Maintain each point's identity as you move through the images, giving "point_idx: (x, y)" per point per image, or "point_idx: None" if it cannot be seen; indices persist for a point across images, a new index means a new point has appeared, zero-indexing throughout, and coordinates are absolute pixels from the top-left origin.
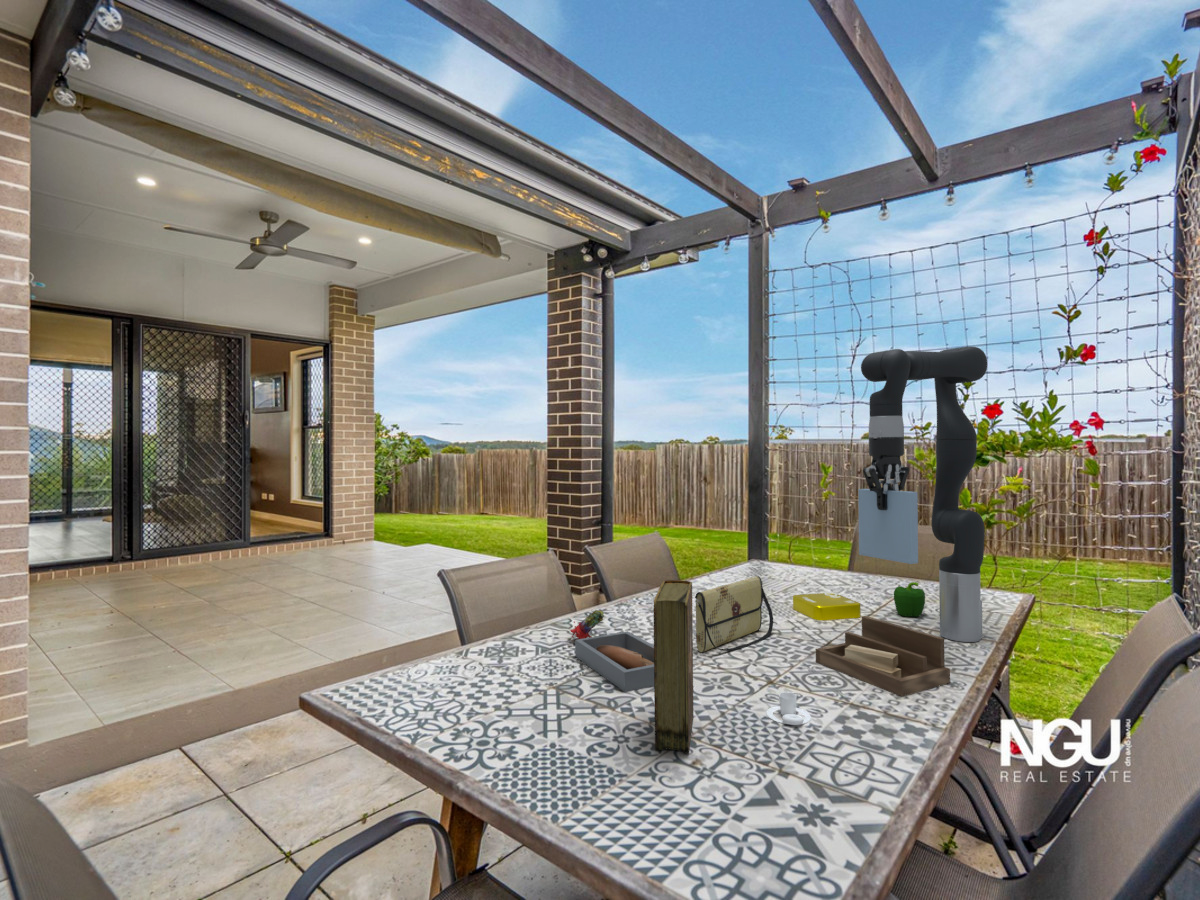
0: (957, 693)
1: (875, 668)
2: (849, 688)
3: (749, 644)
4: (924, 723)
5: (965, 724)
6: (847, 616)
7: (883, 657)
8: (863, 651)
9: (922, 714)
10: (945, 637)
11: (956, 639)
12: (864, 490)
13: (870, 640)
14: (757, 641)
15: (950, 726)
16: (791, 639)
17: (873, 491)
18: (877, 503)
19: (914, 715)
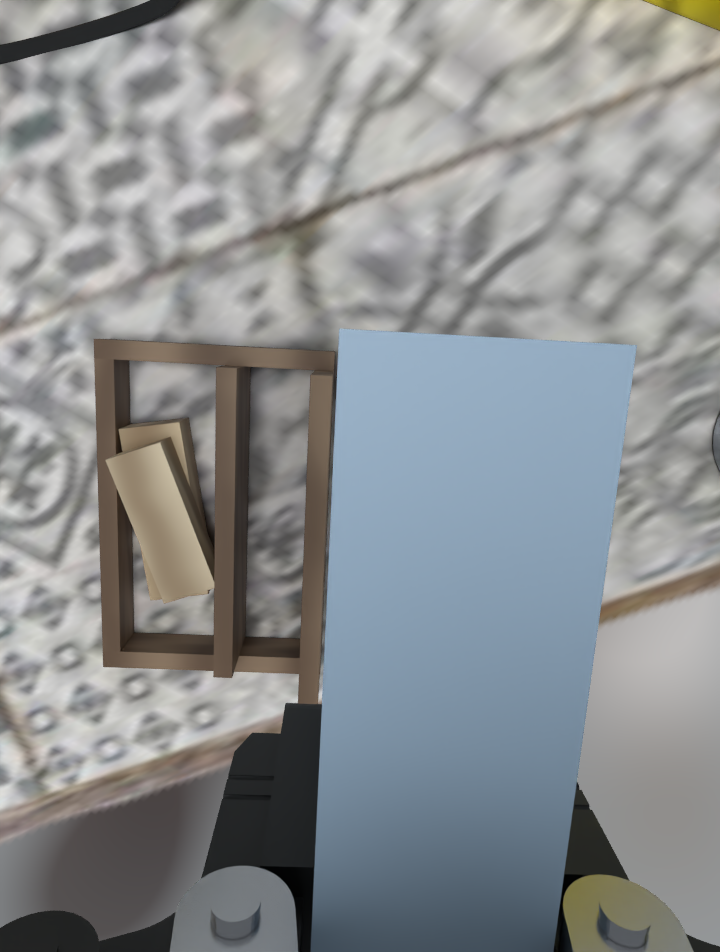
0: (267, 702)
1: (142, 552)
2: (34, 542)
3: (19, 52)
4: (30, 760)
5: (110, 804)
6: (679, 8)
7: (153, 577)
8: (138, 512)
9: (69, 731)
10: (718, 419)
11: (717, 458)
12: (334, 526)
13: (217, 483)
14: (74, 40)
15: (70, 794)
16: (222, 98)
17: (322, 768)
18: (231, 779)
19: (46, 726)
